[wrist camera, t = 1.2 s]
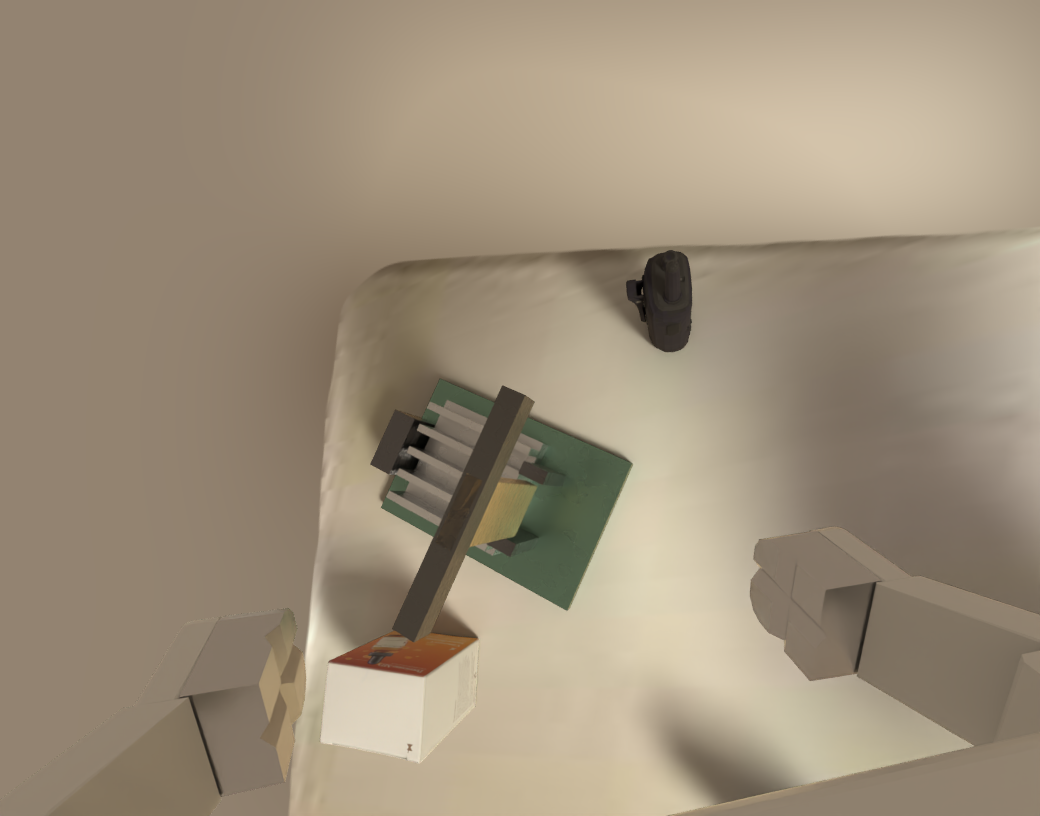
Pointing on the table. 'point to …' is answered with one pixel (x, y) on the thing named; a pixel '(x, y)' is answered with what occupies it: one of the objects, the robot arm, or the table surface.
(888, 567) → the robot arm
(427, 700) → the small box
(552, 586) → the board
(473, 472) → the lever
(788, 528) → the table surface
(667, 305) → the two-way radio
